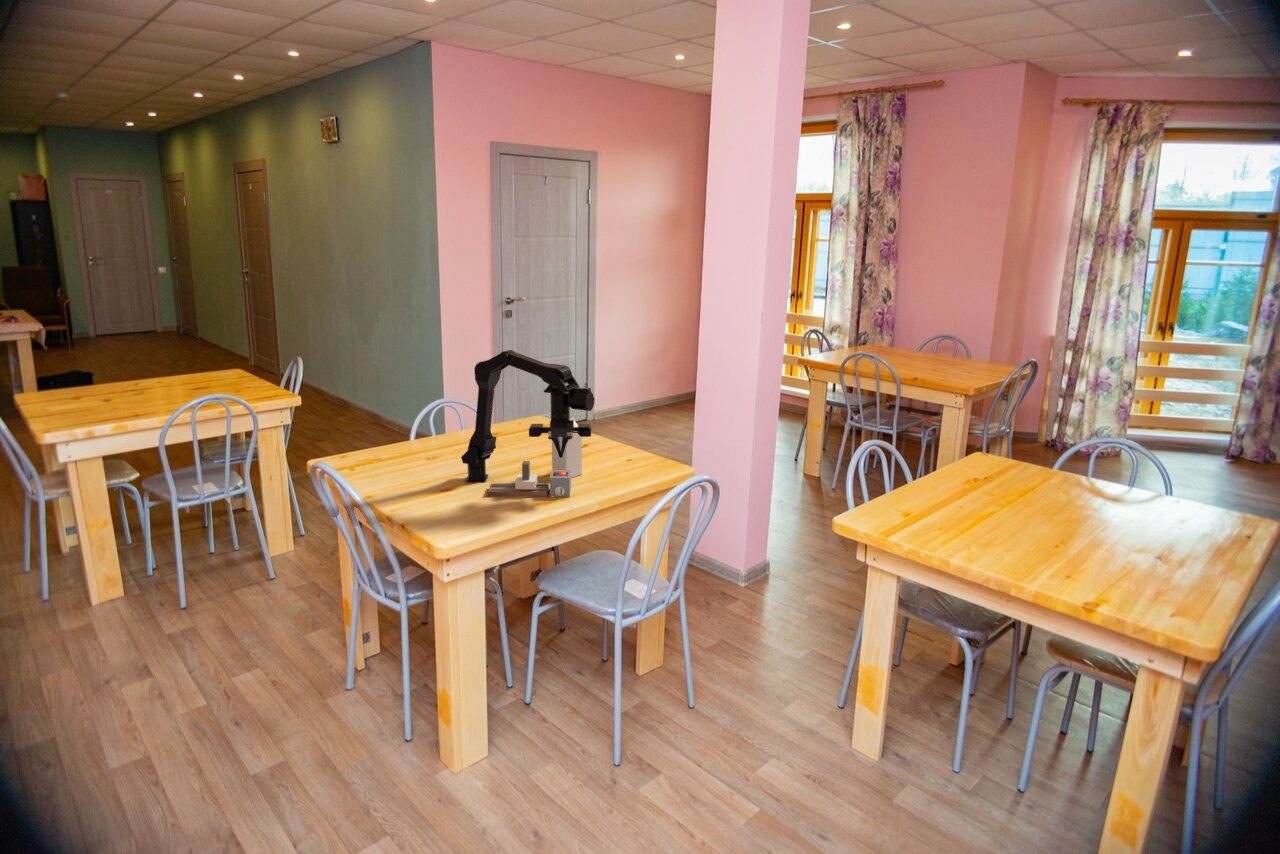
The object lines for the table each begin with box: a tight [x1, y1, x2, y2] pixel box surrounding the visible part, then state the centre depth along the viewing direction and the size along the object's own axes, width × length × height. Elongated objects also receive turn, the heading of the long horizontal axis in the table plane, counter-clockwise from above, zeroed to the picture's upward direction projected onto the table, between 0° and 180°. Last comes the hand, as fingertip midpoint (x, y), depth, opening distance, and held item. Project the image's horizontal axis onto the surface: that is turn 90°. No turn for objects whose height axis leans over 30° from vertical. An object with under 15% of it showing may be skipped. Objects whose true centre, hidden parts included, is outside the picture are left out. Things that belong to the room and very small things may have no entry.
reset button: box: [555, 471, 566, 476], centre depth 235 cm, size 4×4×3 cm
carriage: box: [514, 460, 538, 489], centre depth 234 cm, size 7×6×7 cm
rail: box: [486, 482, 550, 498], centre depth 235 cm, size 8×18×2 cm, turn 92°
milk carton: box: [551, 417, 583, 478], centre depth 251 cm, size 7×7×19 cm
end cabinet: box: [549, 469, 572, 498], centre depth 235 cm, size 8×6×6 cm
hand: (560, 457), depth 233 cm, fingers closed
